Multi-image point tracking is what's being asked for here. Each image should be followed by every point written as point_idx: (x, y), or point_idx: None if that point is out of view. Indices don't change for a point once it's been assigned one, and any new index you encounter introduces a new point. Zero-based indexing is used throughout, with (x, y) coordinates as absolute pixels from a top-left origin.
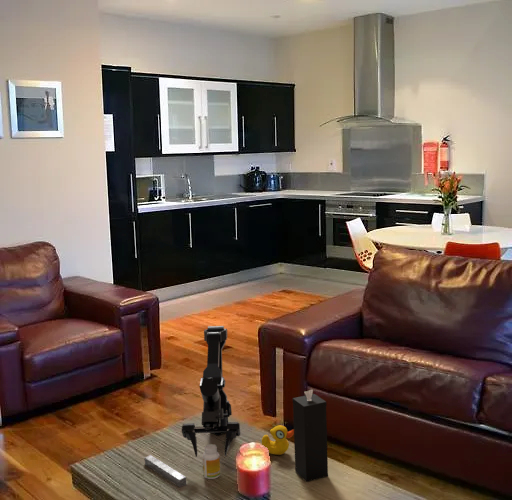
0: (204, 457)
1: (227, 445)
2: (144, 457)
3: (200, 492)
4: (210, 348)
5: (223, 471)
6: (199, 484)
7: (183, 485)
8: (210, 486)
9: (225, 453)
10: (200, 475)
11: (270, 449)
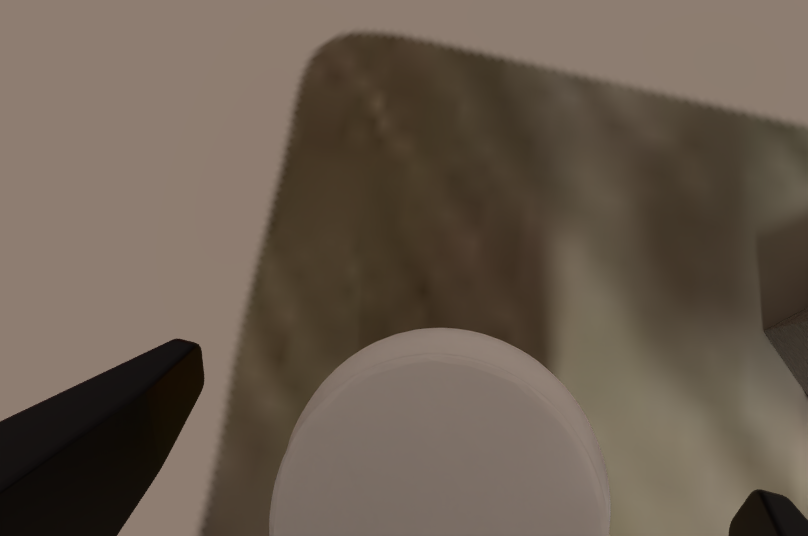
0: (582, 410)
1: (6, 429)
2: None
3: (612, 135)
4: None
5: None
6: (612, 292)
7: (800, 313)
8: (499, 220)
9: (167, 346)
10: None
11: None
